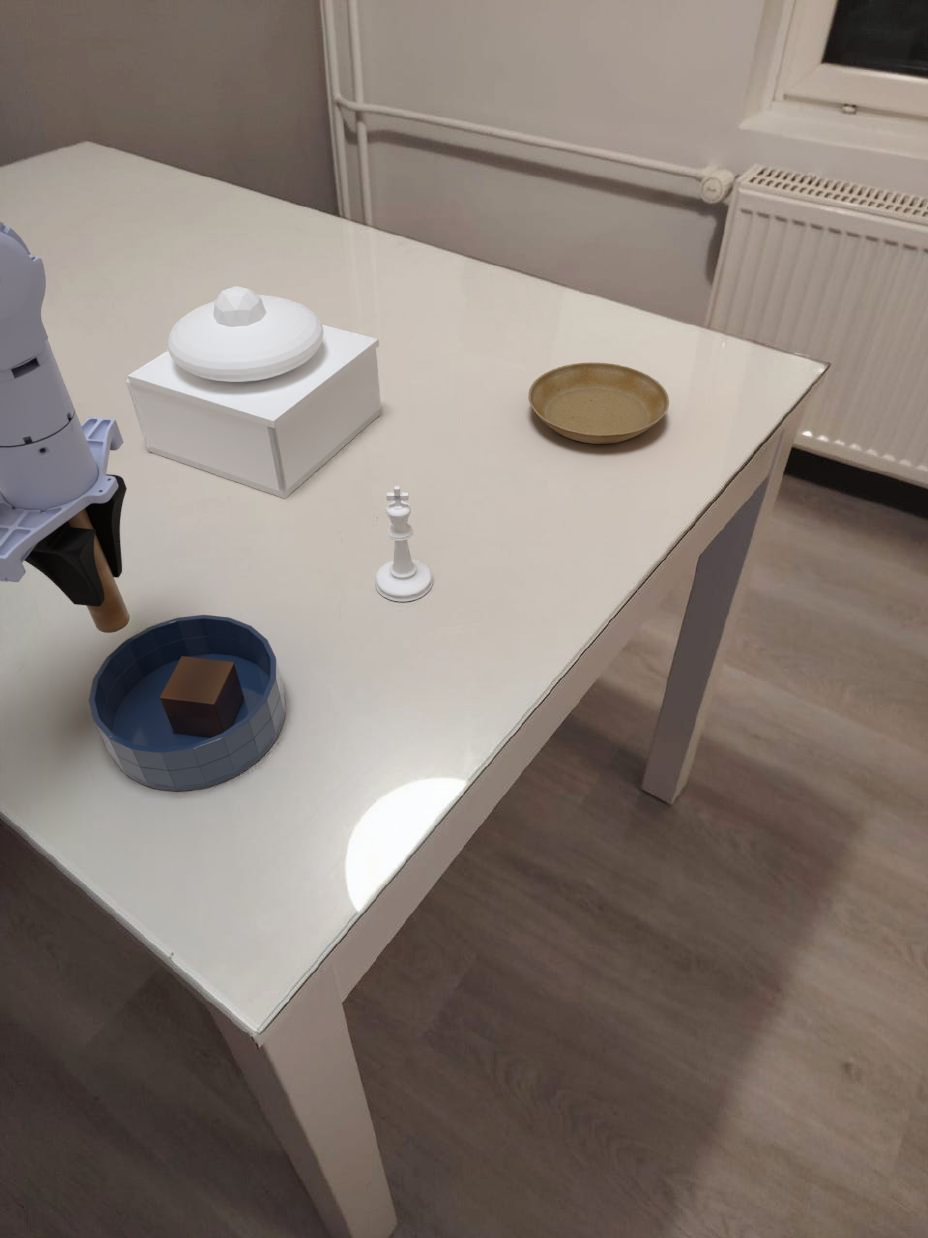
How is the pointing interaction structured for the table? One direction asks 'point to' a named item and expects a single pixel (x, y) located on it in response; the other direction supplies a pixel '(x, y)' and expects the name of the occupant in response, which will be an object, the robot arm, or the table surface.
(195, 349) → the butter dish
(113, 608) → the rod
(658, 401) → the plant saucer
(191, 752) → the bowl
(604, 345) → the table surface
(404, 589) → the chess piece
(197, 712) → the block
